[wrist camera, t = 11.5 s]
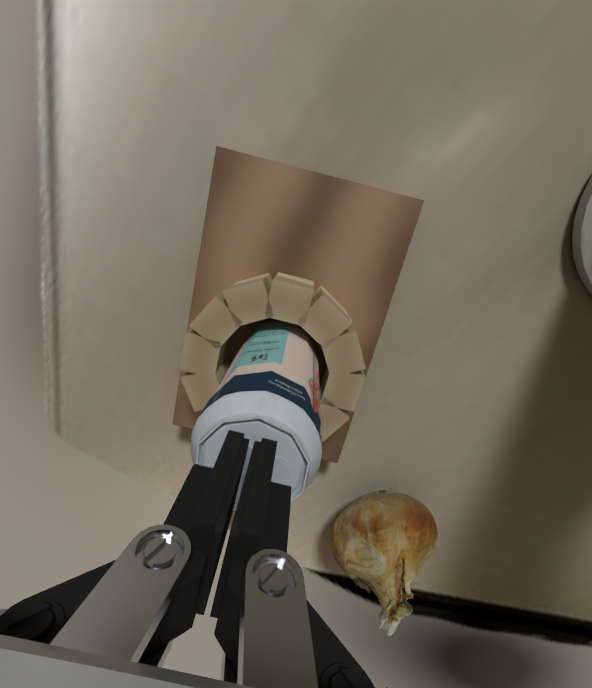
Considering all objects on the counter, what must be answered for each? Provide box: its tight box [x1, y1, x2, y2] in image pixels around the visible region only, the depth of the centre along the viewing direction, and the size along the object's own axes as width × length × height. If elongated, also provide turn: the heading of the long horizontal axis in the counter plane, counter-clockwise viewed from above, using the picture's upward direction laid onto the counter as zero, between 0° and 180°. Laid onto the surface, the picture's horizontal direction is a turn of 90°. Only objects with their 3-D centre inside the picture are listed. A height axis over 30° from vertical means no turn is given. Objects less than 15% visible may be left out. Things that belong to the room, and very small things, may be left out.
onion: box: [331, 485, 438, 636], centre depth 26 cm, size 8×8×8 cm
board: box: [173, 146, 424, 463], centre depth 23 cm, size 12×18×6 cm, turn 166°
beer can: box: [190, 319, 322, 511], centre depth 18 cm, size 5×5×12 cm
